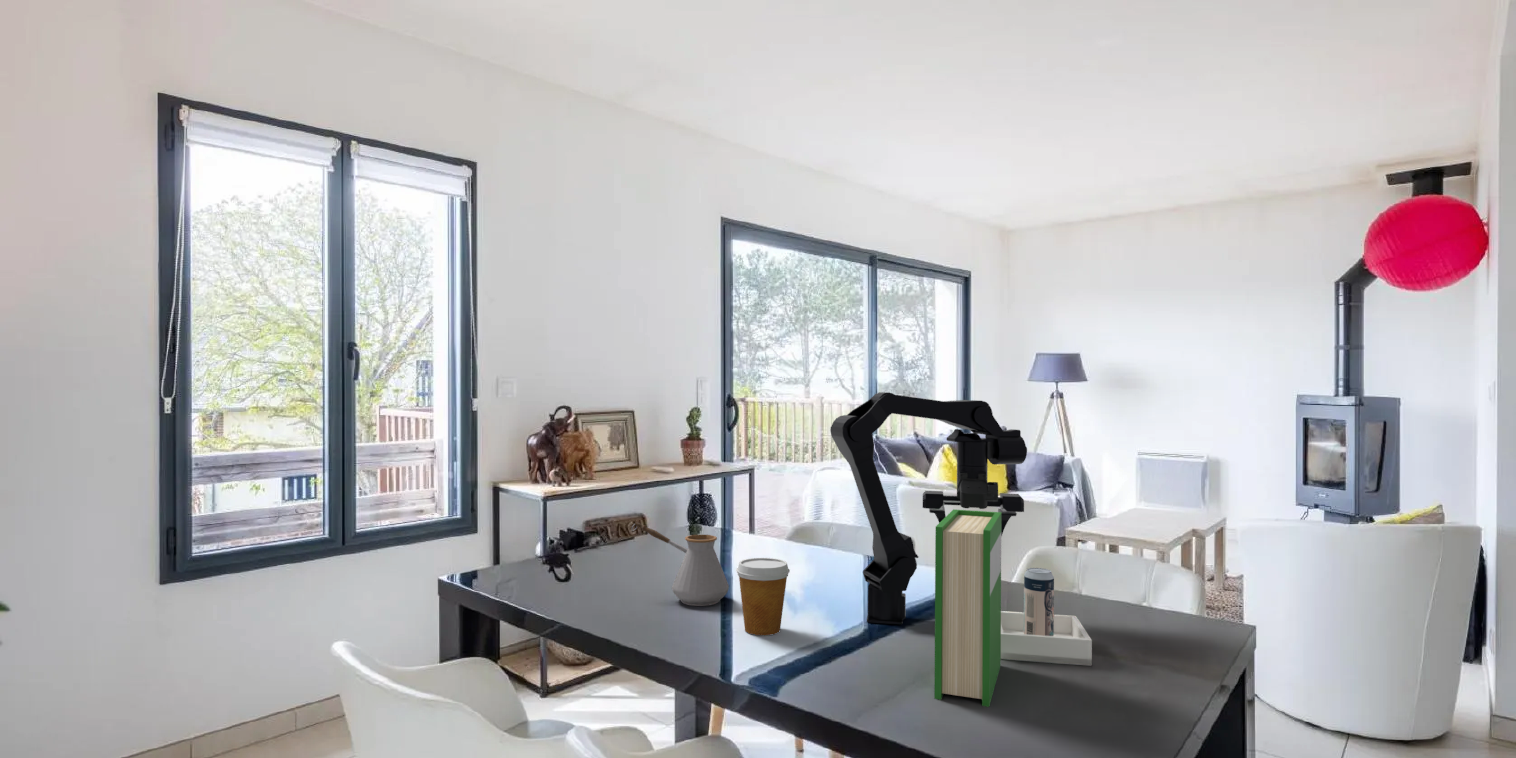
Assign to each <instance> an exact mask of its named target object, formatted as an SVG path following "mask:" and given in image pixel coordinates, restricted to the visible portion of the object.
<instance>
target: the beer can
mask: <svg viewBox="0 0 1516 758" xmlns="http://www.w3.org/2000/svg"><path fill="white" fill-rule="evenodd" d="M1054 610H1055V576H1054V575H1053V573H1052V571H1051V569H1047V568H1042V567H1030V568H1026V571H1024V574H1023V612H1024V634H1029V635H1043V636H1054V613H1055V611H1054Z"/></svg>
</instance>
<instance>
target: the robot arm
mask: <svg viewBox="0 0 1516 758" xmlns="http://www.w3.org/2000/svg"><path fill="white" fill-rule="evenodd" d="M892 414H893V415H900V416H905V417H907V416H908V417H916V418H922V419H930V420H931V419H932V420H937V421H940V422H943V423H945V424H947V425H950V426H953V427H955V428H957V429H953V432H951V434H949V435H948V436H947V437H946V441H947V442H953V443H956V445H957V446H956V495H944V491H943V490H925V491H924V492H923V493H922V508H923V509H928V511H929V513H930V514H935V517H936V519H937V521H938V524H939V523H940V522H941V521H942V520H943V519H944V518H945V517H946V516H947V515H946V509H945V506H960V507H961V508H963V509H971V508H972V509H973V508H975V509H980V510H985V509H987V508H988V507H990V508H991V507H992V508H993V507H996V508H998V507H999V508H998V510H997V512H1001V538H1002V537H1003V533H1004V531H1005V527H1006V526H1007V524H1008V522H1009V520H1010V519H1011V518H1012V517H1017V514H1018V513H1025V500H1024V498H1023V497H1022V496H1021V495H1020V494H1019V493H1005V492H1003V493H1001V492H1000V494H999V482H997V481H988V468H989V467H988V461H989V463H990V464H992V465H1021V464H1023V463H1024V462H1025V461H1026V459H1027V455H1028V448H1027V445H1026V442H1025V440H1024V438H1023V437H1022V435H1021V430H1020V429H1006V430H1004V429H1002V426H1001V425H1000V424H999V422H998V421H997V419H996V418H995V416H994V415H993V410H992V408H991V406H990V404H989V403H988V402H986V401H984V400H975V399H974V400H969V399H960V400H959V399H955V400H945V401H943V400H935V399H928V398H922V397H915V396H907V395H902V394H901V395H899V394H895V393H893V392H884V391H881V392H876V393H874V395H872V396H871V397H870V398H869V399H868V400H867V401H865V402H863V403H862V404H860V405H859V406H857V407H855V408H853V410H851V411H850V412H849V413H847V414H844V415H840V416H838V417H836V418H835V419H834V420H833V422H832V423H831V426H830V428H829V429H830V430H829V431H830V437H831V438H832V440H833V442H834V443H835V446H836V447H837V449H838V451H839V452H840V454H841V455H842V457H843V458H844V459H845V460H846V462H847V463H848V465H849V468H850V469H851V473H852V476H853V478H854V482H855V484H856V487H857V490H858V493H859V495H860V499H861V501H862V505H863V508H864V510H865V514H866V517H867V520H868V522H869V526H870V529H871V531H872V553H873V560H871V561H870V563H869V564H868V565H867V566H866V567H865V568H863V570H862V574H863V578H864V581H865V582H866V583H868V586H867V617H866V622H867V623H872V624H873V623H876V624H889V625H890V624H891V625H903V621H904V620H905V619H906V614H907V613H906V612H907V611H906V610H907V609H906V605H907V604H906V601H907V599H906V598H907V597H906V593H904V592H906V591H907V589H908V586H909V583H910V582H911V581H910V580H911V578H912V577H913V576H914V574H915V573H916V570H917V567H918V563H917V562H918V561H917V559H918V558H919V555H918V554H917V553H916V550H915V549H914V548H915V547H914V542H913V539H912V537H911V536H910V535H906V534H904V533H902V532H899V530H898V529H897V526H896V523H895V519H894V516H893V515H892V511H891V508H890V505H889V502H888V499H887V496H886V493H885V490H884V488H883V484H882V482H881V478H880V476H879V473H878V469H877V467H876V463H875V460H874V459H875V458H874V455H875V454H874V453H875V451H874V450H875V440H874V434H873V433H875V432H876V431H877V430H879V429H880V428H881V427H882V425H883V424H884V423H885V421H886V420H887V419H888V417H890V416H891V415H892ZM958 428H959V429H958ZM963 430H969V431H970V432H964V431H963ZM980 435H984V436H985V437H981V436H980Z"/></svg>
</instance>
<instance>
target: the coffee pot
mask: <svg viewBox="0 0 1516 758" xmlns="http://www.w3.org/2000/svg"><path fill="white" fill-rule="evenodd" d="M634 526H635V528H634ZM633 528H634V529H633ZM637 528H640V529H641V531H643V532H644V531H645V532H646V533H647V534H649V535H650V536H651V537H653V538H655V539H657V540H660V541H661V542H664V543H665V544H669V545H671V546H672V547H674V548H676V549H678V550H679V551H681V552H683V553H684V554H685V555H684V557H683V559H682V562H681V565H680V567H679V569H678V572H677V574H676V576H675V578H674V580H673V583H672V586H671V589H672V592H673V594H674V596H676V598H677V599H679V600H680V602H681V603H683V605H688V606H692V607H695V606H696V607H706V606H707V607H708V606H712V605H716V604H719V602H720V600H721V599H723V598H724V597H725V596H726V595H727V594H728V591H729V590H730V589H729V588H730V585H729V583H728V581H727V578H726V575H725V572H724V570H723V568H722V565H721V563H720V561H719V558H718V556H717V553H716V550H715V548H714V546H715V541H717V540H718V538H717V536H716V535H712V534H691V535H687V536H685V537H684V540H685V541H686V543H687V547H688V548H686V547H684V546H683V545H681V544H679V543H677V542H675V541H673V540H671V539H669V538H668V537H667V536H665V535H664V534H662V533H660V532H659V531H657V530H655V529H652V528H650V527H647V525H646V524H645V525H643V524H641V523H640V522H637V521H635V522H634V523H633V525H632V526H631V529H630V530H631V532H634V531H635V530H637Z"/></svg>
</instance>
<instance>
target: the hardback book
mask: <svg viewBox="0 0 1516 758" xmlns="http://www.w3.org/2000/svg"><path fill="white" fill-rule="evenodd" d="M945 516H946V517H945V518H944V519H943V520H942V521H941V522H940V523H939V522H938V524H936V526H935V535H934V536H935V538H934V539H935V544H934V545H935V547H934V548H935V549H934V550H935V551H934V552H935V554H934V555H935V556H934V557H935V562H934V564H935V565H934V568H935V569H934V571H935V572H934V574H935V576H934V579H935V582H934V683H933V684H934V687H933V689H934V691H933V692H934V696H933V697H934V698H933V699H934V700H935V699H936V700H939V701H940V700H942V699H943V696H944V694H945V695H952V696H958V697H965V698H972V699H978V700H981V706H982V707H987V708H989V707H990V706H991V701H992V697H993V694H994V690H995V687H996V684H997V680H998V676H999V673H1000V670H1001V666H1002V665H1001V662H1002V661H1001V660H1002V659H1001V611H1002V537H1001V512H998V511H986V510H985V511H984V510H971V509H970V510H968V509H967V510H966V509H954V508H953V509H952V510H951V511H950V512H949V513H948V514H947V515H945Z"/></svg>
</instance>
